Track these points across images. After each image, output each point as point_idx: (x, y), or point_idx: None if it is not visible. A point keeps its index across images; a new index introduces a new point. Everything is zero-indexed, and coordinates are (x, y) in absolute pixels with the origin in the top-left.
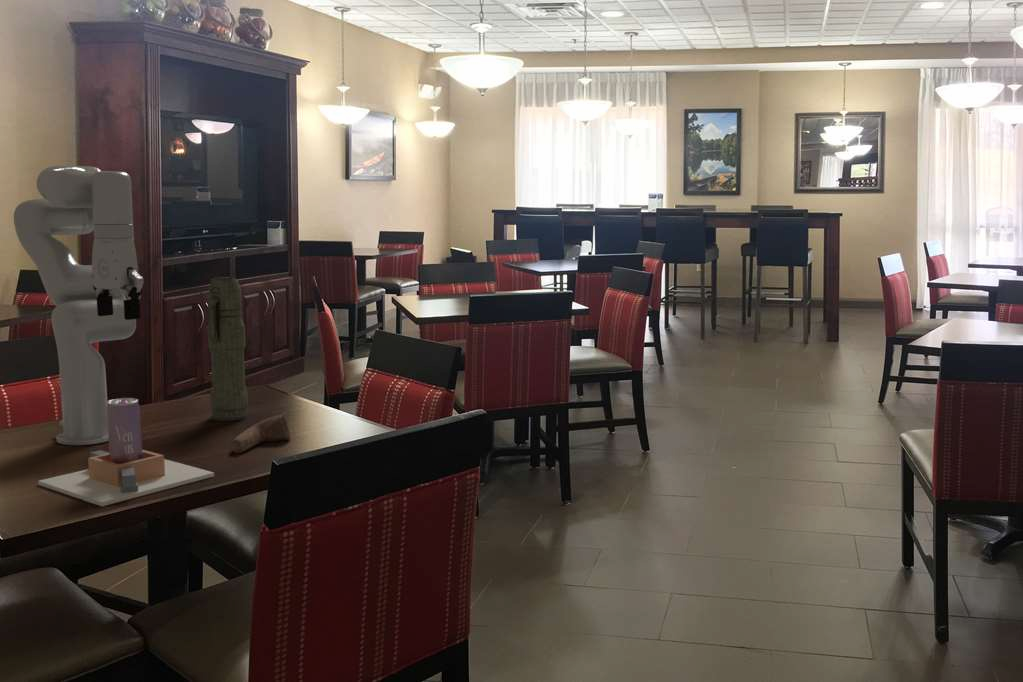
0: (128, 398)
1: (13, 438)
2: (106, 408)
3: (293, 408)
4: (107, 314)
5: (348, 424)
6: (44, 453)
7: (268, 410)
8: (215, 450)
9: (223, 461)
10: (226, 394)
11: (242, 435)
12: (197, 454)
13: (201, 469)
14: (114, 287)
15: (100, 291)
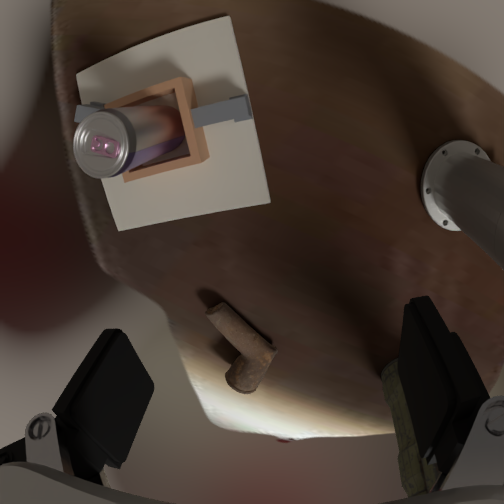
0: (119, 165)
1: None
2: (110, 108)
3: (372, 420)
4: (400, 344)
5: (260, 422)
6: (425, 95)
7: None
8: (250, 290)
9: (184, 271)
10: (396, 390)
11: (223, 328)
12: (245, 264)
13: (139, 225)
14: (15, 474)
15: (455, 463)
